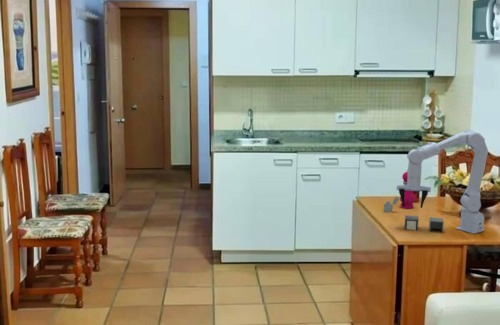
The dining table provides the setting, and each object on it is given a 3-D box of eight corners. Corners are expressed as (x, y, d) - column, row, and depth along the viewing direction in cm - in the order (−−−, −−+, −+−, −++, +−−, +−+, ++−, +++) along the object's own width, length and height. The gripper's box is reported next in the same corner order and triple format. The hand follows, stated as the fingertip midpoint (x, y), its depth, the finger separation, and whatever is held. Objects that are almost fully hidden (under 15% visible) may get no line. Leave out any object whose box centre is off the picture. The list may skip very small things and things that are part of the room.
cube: (406, 226, 268) (407, 218, 268) (415, 227, 267) (416, 218, 267) (406, 229, 265) (407, 220, 264) (415, 230, 264) (416, 221, 263)
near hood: (428, 228, 266) (429, 217, 266) (442, 229, 265) (443, 218, 264) (429, 231, 261) (429, 220, 260) (442, 232, 259) (443, 221, 259)
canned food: (401, 199, 319) (402, 179, 317) (413, 198, 322) (415, 179, 320) (408, 203, 312) (410, 182, 310) (422, 202, 314) (423, 181, 313)
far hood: (404, 225, 270) (405, 215, 269) (417, 227, 268) (418, 216, 267) (404, 229, 264) (405, 218, 263) (417, 230, 263) (418, 219, 262)
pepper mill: (414, 209, 299) (416, 170, 295) (399, 208, 300) (401, 169, 297) (413, 206, 306) (415, 167, 302) (399, 205, 307) (401, 167, 304)
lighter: (383, 212, 293) (384, 196, 292) (383, 211, 295) (384, 195, 293) (398, 212, 293) (399, 196, 291) (397, 211, 294) (398, 196, 293)
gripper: (397, 177, 260) (395, 207, 262) (431, 179, 256) (429, 210, 259) (397, 174, 267) (395, 203, 269) (431, 176, 263) (429, 206, 265)
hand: (412, 206), depth 264 cm, fingers open, 7 cm apart
